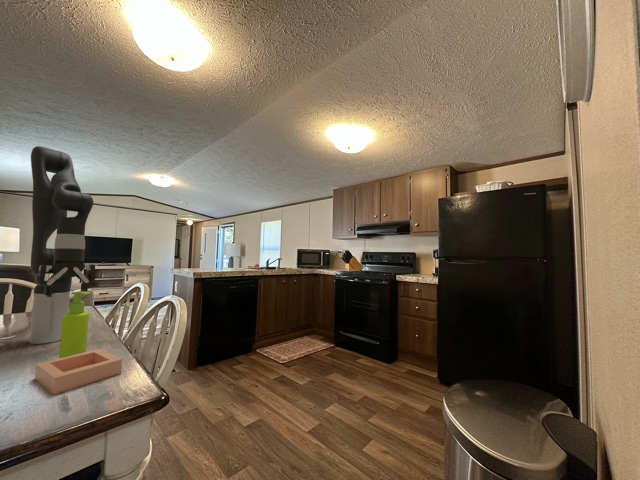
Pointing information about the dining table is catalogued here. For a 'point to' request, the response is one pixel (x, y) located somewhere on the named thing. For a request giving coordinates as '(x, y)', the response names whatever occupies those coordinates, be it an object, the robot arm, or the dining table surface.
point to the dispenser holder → (77, 370)
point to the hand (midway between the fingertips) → (66, 295)
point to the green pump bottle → (74, 328)
